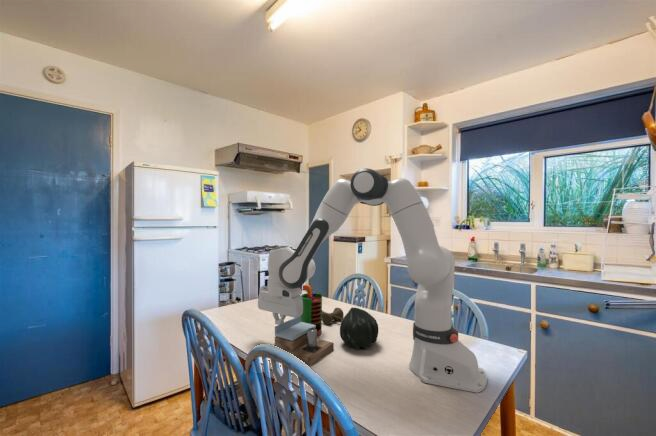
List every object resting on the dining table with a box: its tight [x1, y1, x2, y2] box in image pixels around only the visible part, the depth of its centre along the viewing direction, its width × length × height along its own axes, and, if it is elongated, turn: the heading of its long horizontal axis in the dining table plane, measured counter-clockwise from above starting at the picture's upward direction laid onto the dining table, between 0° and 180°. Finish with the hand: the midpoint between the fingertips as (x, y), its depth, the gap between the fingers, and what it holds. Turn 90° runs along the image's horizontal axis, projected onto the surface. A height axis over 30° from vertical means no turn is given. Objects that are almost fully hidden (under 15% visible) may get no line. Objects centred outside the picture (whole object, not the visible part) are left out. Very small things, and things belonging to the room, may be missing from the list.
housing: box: [274, 333, 335, 367], centre depth 107 cm, size 16×14×6 cm
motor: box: [300, 284, 323, 337], centre depth 124 cm, size 10×9×20 cm
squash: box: [339, 307, 380, 350], centre depth 114 cm, size 14×15×15 cm
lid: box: [274, 316, 316, 341], centre depth 110 cm, size 8×14×3 cm, turn 148°
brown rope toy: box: [322, 307, 345, 326], centre depth 140 cm, size 6×10×20 cm
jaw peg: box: [307, 328, 318, 353], centre depth 105 cm, size 3×3×9 cm
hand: (279, 324), depth 114 cm, fingers closed
